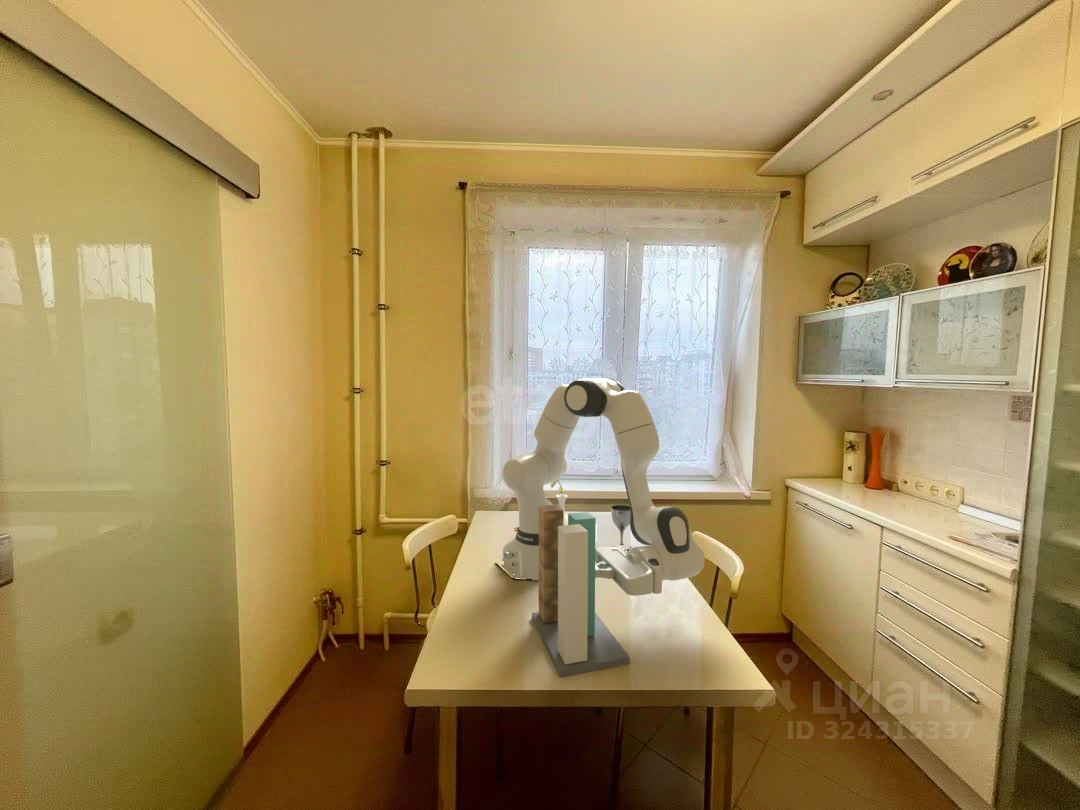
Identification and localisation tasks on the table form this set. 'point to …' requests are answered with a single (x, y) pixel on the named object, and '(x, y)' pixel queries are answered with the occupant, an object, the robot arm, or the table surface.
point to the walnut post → (549, 561)
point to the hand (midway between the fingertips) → (591, 571)
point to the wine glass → (621, 518)
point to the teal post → (589, 524)
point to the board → (599, 648)
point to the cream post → (572, 593)
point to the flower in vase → (561, 500)
